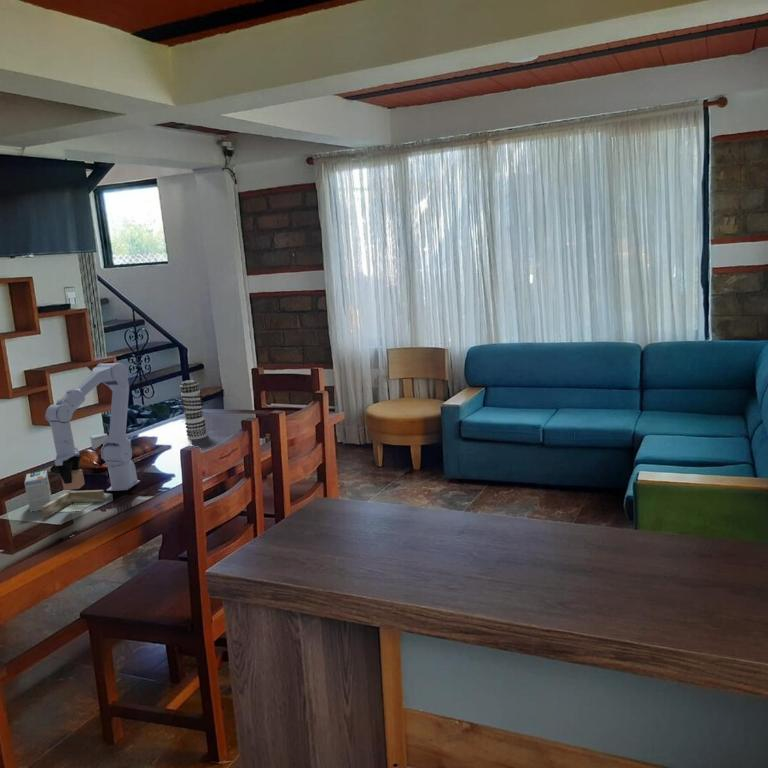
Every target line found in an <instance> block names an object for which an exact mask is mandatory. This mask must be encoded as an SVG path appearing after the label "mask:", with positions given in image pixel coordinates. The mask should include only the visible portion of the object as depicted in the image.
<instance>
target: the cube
mask: <svg viewBox="0 0 768 768" xmlns="http://www.w3.org/2000/svg"><path fill="white" fill-rule="evenodd" d="M60 478H61V481H62V488H63V491H73V490H79V489H81V488H82V487H83V486H84V485H85V477H84V473H83V469H78V470H72V483H68V484H65V483H64V481H63V479H62V477H61V476H60Z"/></svg>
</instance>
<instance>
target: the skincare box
mask: <svg viewBox="0 0 768 768" xmlns="http://www.w3.org/2000/svg"><path fill="white" fill-rule="evenodd" d="M89 436H90V437H89V438H90V444H91V449H92V448H93V449H95V448H97V447H99V446H100V445H101V444H104V440H105V439H106V438H107V437H108V436H109V434H107V433H100V434H99V433H98V434H95V435H89Z"/></svg>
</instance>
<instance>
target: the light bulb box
mask: <svg viewBox="0 0 768 768" xmlns="http://www.w3.org/2000/svg"><path fill="white" fill-rule="evenodd" d="M24 488H25V489H24V490H25V492H26V499H27V503H28V507H29V513H33V512H32V511H35V512H38V510H40V511H42V508H41V507H42V506H44V505H46V504H47V503H49V502H51V501H53V497H52V492H51V491H52V490H51V485H50V481H49V475H48V470H40V471H35V472H31V473H26V474H25V480H24Z"/></svg>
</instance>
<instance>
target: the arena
mask: <svg viewBox="0 0 768 768" xmlns="http://www.w3.org/2000/svg"><path fill="white" fill-rule="evenodd" d="M104 501H106V495H105V490H104V489H93V490H92V489H91V490H89V489H88V490H67V491H66V492H64V493H63V494H61V495H60V496H57V497H56V498H54V499H52V501H51V502H49V503H47V504H46V505H44V506H42V507H41V508H42V510H41V511H42V513H41V514H42V517H43V518H49V517H50V516H52V515H54V514H56V513H57V512H58V513H69V512H70V513H73V511H74V512H75V511H79V512H82V511H83V510H85V509H87V508H88V507H91V505H93V504H94V503H95V502H104ZM71 502H74V503H73V504H72V503H71ZM68 504H69V505H68ZM71 505H72V506H71ZM55 512H56V513H55ZM75 513H76V512H75Z"/></svg>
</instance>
